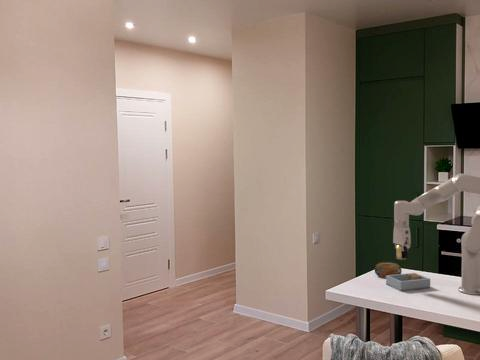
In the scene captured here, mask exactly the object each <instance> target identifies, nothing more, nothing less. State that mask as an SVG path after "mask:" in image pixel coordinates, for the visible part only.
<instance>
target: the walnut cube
mask: <svg viewBox="0 0 480 360" xmlns="http://www.w3.org/2000/svg"><path fill="white" fill-rule="evenodd" d="M407 274H408V273H407ZM420 275H421V274H419V275H418V273H416V274H408V281H409V280H419V279H421V276H422V275H421V276H420Z"/></svg>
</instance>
